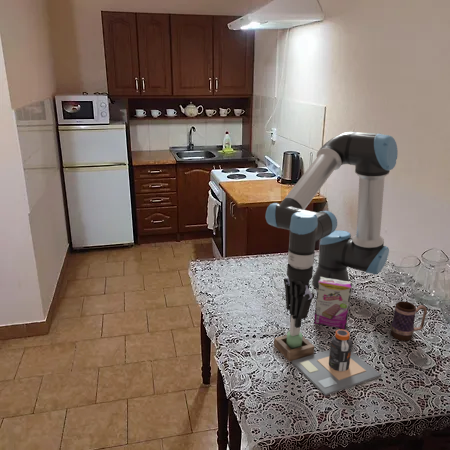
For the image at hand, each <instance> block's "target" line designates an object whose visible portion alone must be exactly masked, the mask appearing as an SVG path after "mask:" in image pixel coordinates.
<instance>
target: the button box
mask: <svg viewBox="0 0 450 450" xmlns="http://www.w3.org/2000/svg"><path fill="white" fill-rule="evenodd" d="M286 342H287V334H285V335H280V336H277V337H274V339H273V347H274V348H275V349H276V350H277V351H278V352H279V353H280V354H281V355H282V356H283V357H284V358H285V359H286V360H287V361H288V362H289V363H292V361H293V360H296V359H300V358H303V357H306V356H310V355H313V354H315V349H316V348H315V345H314V344H313V343H311V341H309V340H308V339H307V338H306V337H305V336H303V337H302V347H299V348H295V349H292V350H291V349H290V348H289V347H288V346H287V345H286Z"/></svg>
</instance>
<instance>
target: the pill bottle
mask: <svg viewBox="0 0 450 450" xmlns="http://www.w3.org/2000/svg"><path fill="white" fill-rule="evenodd" d="M350 335H351V333H350V332H349V331H348V330H347V329H341V328H338V329H337V330H335V334H334V336H332V337H331V339H330V340H331V341H330V349H329V350H330V355H329V366H330V367H331V368H332V369H334V370H336V371H346V370H348V369H349V364H350V356H351V351H352V347H353V341H352V339H351V338H350Z"/></svg>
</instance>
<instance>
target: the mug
mask: <svg viewBox="0 0 450 450" xmlns="http://www.w3.org/2000/svg"><path fill="white" fill-rule="evenodd" d="M394 307H395V308H394V312H393V317H392V322H391V325H390V330H389V331H390V332H389V334H390V336H391V337H392V338H393V339H394V340H396V341H399V342H409V341H411V340H412V339H413V334H414V332H416V331H422V330H423V328H424V326H425V321H426V316H427V313H428V310H427V306H425V305H421V304H420V305H418V306H416V305H414V303H412V302H410V301H406V300H405V301H402V300H401V301H397V302H396V304H395V306H394ZM420 310H422V311H423V314H422V318H421V323H420V326H418V327H415V325H414V324H415V320H416V319H415V318H416V313H417V312H419V311H420Z"/></svg>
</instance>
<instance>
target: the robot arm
mask: <svg viewBox="0 0 450 450" xmlns="http://www.w3.org/2000/svg"><path fill="white" fill-rule="evenodd" d="M397 159H398V145H397V141H396V139H395V138H394V137H393V136H391V135H389V134H383V133H374V132H361V131H360V132H359V131H358V132H357V131H345V132H342V133H340V134H338V135H335V136H334V137H332V138H330V139H329V140H328V141H327V142H325V143H324V144H323V145H322V146H321V147H320V148H319V150H318V151H317V153H316V158H315V159H314V161H313V162H312V163H311V165H310V166H309V167H308V168H307V169H306V171H305V172H304V173H303V174H302V175H301V177H300V179H298V181H297V182H296V184H295V185H294V186H293V187H292V189H291V190H290V191H289V192H288V194H286V196H285V197H284V198H283V200H282V201H281V202H280V203H279V202H273V203H270V204H269V205H268V206H267V208H266V211H265V220H266V223H267V224H268V225H270V226H271V227H275V228H277V229H282V230H283V229H284V230H287V231H289V238H288V240H289V242H288V254H287V255H288V257H287V267H286V276H287V277H286V278H283V284H284V291H285V293H284V294H285V309H286V310H287V311H289V315H290V319H289V322H290V323H289V324H290V325H289V331H290V335H291V336H296V335H300V333H301V327H302V320H303V319H307V317H308V314H309V312H310V311H309V310H310V307H311V304H312V301H313V299H314V298H315V297H316V295H315V293H314V292H311V290H310V289H311V288H310V281H312V285H313V286H314V288H316V289H318V282H319V279H320V277H325V278H331V279H337V280H343V281H349V282H350V279H349V273H348V268H350V269H354V270H357V271H361V272H364V273H366V274H371V275H377V274H380V273H381V271H382V270H383V268H384V267H385V265H386V262H387V260H388V258H389V253H390V248H389V246H387V245H384V243H385V240H384V237H382V235H381V228H382V227H381V226H382V213H383V204H384V203H383V202H384V201H383V200H384V192H385V191H384V190H385V189H384V188H385V178H386V177H387V176H388V175H389V174H390V171H392V170H393V169H394V168H395V167H396V165H397ZM343 165H350V166H355V170H354V172H355V174H356V175H357V176H358V192H357V193H358V195H357V197H358V199H357V213H356V216H357V218H356V233H355V235H353V236H352V235H351V232H349V231H347V230H336V229H337V227H338V219H337V217H336V215H335V214H334V213H333V212H332V211H329V210H321V211H317V212H316V211H313V210H307V209H306V208H308V205H310V203H311V202H312V200H313V199H314V198H315V196H316V195H317V194H318V192H319V191H320V190H321V189H322V187H323V186H324V184H325V183H326V182H327V180H328V179H329V178H330V177H331V176H332V174H333V173H334V171H336V170H338V169H340V168H341V166H343ZM319 240H320V242H319V252H318V263H317V264H318V265H317V268H316V269H315V273H313V272H314V271H313V270H314V263H315V254H316V252H315V249H316V242H318V241H319ZM311 279H312V280H311Z"/></svg>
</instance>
